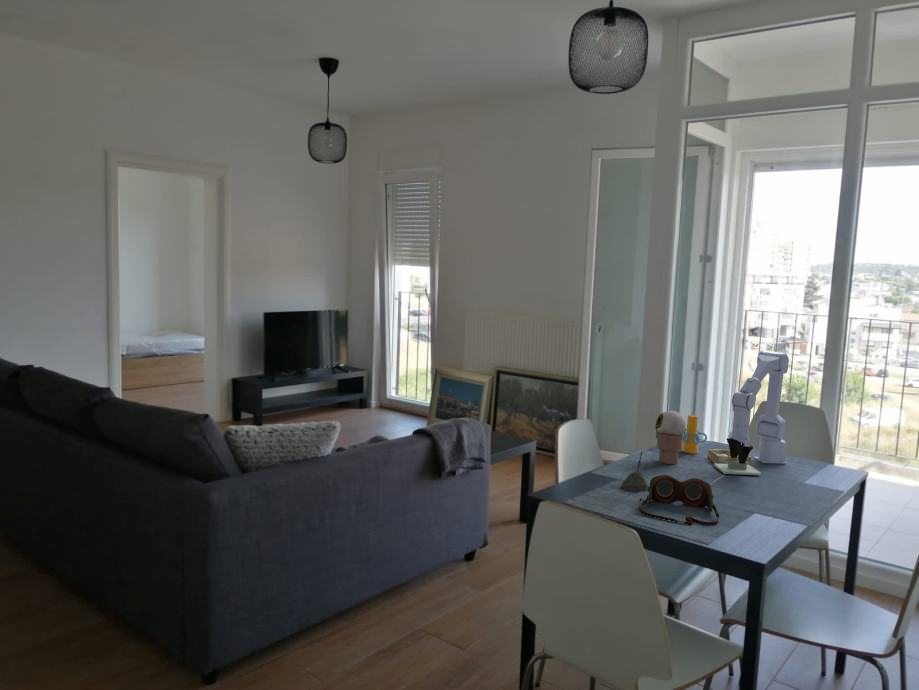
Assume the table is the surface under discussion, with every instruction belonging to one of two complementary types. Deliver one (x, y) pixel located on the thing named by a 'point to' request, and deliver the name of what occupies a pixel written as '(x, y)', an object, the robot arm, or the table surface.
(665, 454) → the ice cream cone
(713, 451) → the crate
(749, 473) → the lid
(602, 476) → the table surface
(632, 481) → the sword in stone
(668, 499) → the goggles
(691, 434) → the yellow post with rings
